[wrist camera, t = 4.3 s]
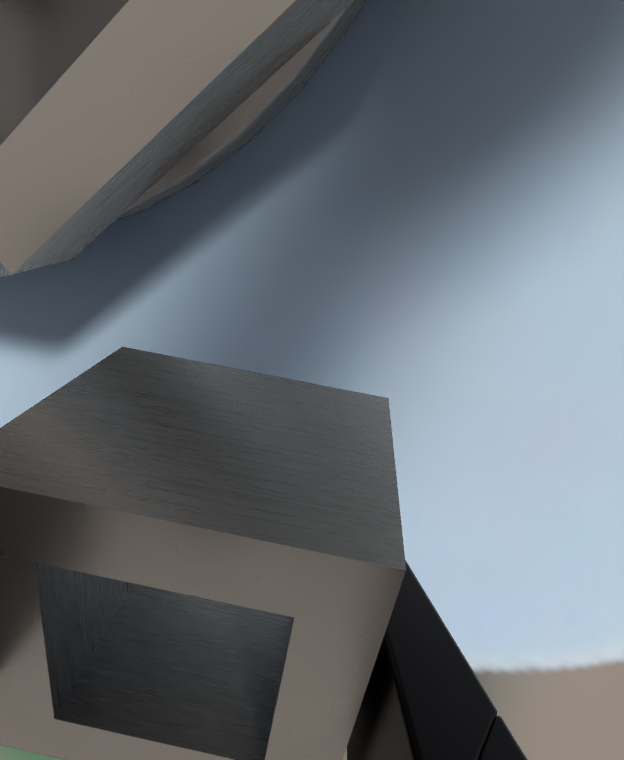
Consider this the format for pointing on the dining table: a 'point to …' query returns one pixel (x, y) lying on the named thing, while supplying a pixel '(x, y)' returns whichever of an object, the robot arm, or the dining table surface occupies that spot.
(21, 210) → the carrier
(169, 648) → the square pipe segment
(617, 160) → the dining table surface
